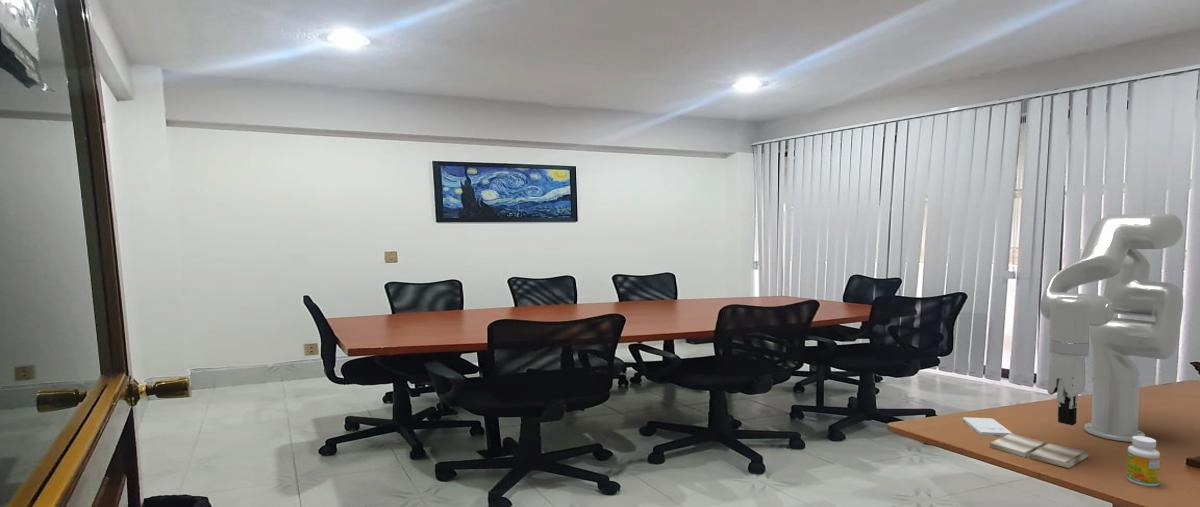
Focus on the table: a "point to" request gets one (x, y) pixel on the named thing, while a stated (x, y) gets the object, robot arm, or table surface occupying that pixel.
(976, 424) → the external hard drive
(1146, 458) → the supplement bottle
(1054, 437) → the table surface
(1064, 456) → the plank
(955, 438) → the table surface
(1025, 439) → the laid board
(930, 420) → the table surface
